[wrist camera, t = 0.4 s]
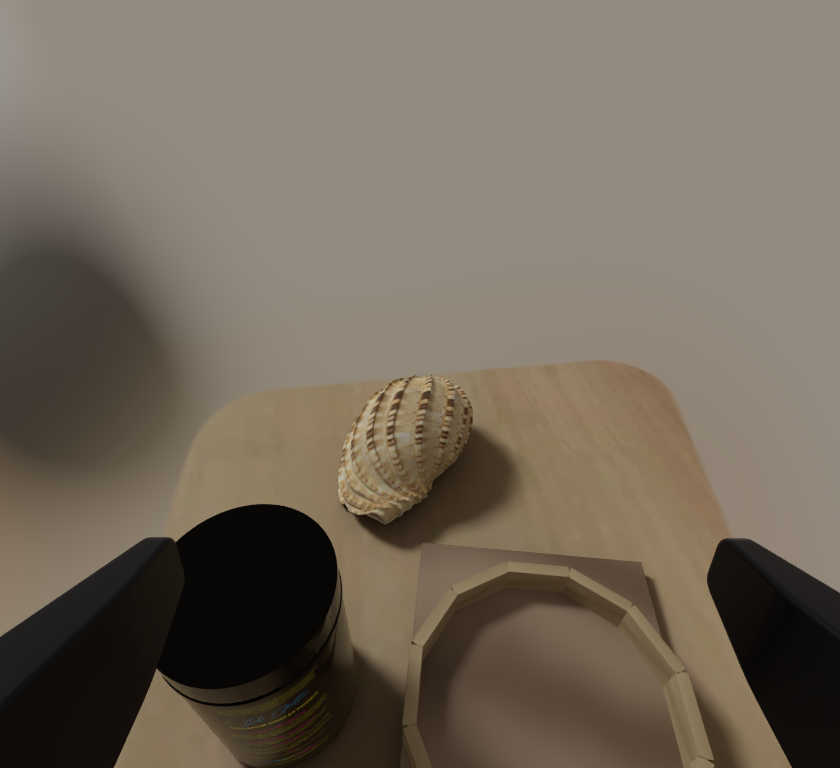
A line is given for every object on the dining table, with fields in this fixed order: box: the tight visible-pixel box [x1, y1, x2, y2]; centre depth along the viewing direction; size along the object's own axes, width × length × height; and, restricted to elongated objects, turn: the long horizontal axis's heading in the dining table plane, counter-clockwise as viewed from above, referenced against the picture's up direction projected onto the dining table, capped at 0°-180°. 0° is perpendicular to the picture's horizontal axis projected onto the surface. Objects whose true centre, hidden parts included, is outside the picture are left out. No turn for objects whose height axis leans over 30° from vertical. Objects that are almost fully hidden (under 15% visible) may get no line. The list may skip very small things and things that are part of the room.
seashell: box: [338, 374, 473, 525], centre depth 29 cm, size 8×6×10 cm
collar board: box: [400, 543, 714, 768], centre depth 19 cm, size 14×11×2 cm
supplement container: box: [156, 504, 357, 768], centre depth 18 cm, size 6×6×9 cm
